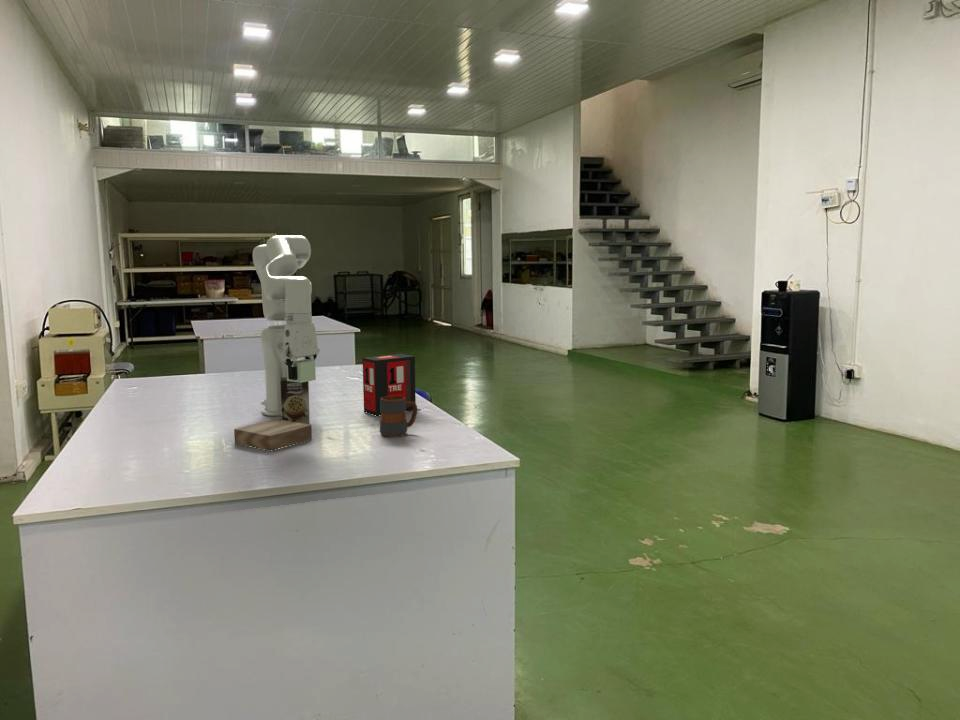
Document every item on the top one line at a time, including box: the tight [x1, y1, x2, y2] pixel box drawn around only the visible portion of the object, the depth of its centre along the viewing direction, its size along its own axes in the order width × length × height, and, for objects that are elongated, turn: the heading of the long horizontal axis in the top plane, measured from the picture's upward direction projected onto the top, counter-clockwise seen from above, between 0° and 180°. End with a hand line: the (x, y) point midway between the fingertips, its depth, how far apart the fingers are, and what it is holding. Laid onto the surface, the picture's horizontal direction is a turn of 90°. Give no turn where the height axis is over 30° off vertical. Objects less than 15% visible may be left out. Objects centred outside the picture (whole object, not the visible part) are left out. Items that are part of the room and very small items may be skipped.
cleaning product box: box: [362, 353, 417, 417], centre depth 255 cm, size 16×9×20 cm, turn 129°
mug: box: [379, 396, 418, 437], centre depth 222 cm, size 9×12×12 cm
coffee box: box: [280, 377, 311, 425], centre depth 233 cm, size 9×6×16 cm
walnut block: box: [233, 418, 313, 452], centre depth 214 cm, size 16×16×5 cm
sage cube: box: [286, 358, 317, 383], centre depth 214 cm, size 6×6×6 cm
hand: (301, 377), depth 214 cm, fingers closed on sage cube, 6 cm apart
